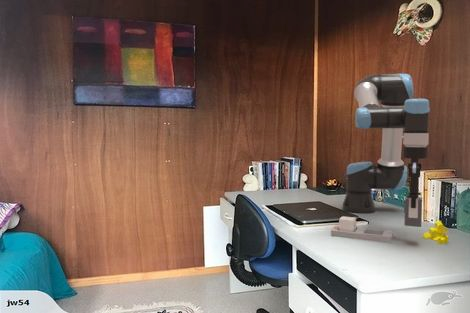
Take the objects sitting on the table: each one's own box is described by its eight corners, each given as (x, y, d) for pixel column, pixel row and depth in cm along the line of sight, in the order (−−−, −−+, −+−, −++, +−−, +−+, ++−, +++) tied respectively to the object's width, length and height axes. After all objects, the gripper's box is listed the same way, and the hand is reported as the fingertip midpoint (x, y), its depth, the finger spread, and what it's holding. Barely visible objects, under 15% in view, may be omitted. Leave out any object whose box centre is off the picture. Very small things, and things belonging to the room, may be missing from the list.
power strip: (335, 233, 145) (335, 224, 145) (392, 240, 136) (392, 230, 136) (331, 239, 138) (331, 229, 138) (390, 246, 129) (391, 236, 129)
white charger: (341, 232, 143) (342, 216, 142) (355, 233, 141) (355, 217, 140) (339, 235, 138) (339, 219, 138) (353, 237, 136) (353, 220, 136)
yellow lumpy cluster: (420, 239, 138) (420, 218, 137) (443, 239, 138) (443, 218, 137) (427, 244, 132) (428, 222, 131) (451, 244, 132) (452, 222, 131)
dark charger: (405, 222, 132) (406, 196, 131) (421, 223, 130) (422, 197, 129) (404, 225, 127) (405, 198, 127) (421, 227, 125) (422, 199, 124)
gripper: (404, 145, 136) (402, 209, 138) (401, 147, 120) (399, 220, 122) (428, 145, 133) (425, 211, 135) (428, 147, 117) (425, 222, 118)
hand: (413, 215), depth 128 cm, fingers closed on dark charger, 5 cm apart
